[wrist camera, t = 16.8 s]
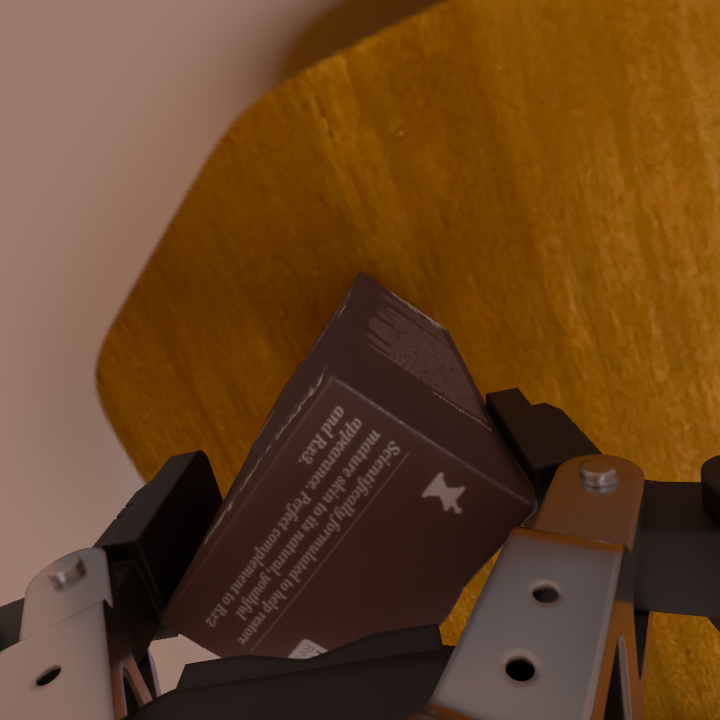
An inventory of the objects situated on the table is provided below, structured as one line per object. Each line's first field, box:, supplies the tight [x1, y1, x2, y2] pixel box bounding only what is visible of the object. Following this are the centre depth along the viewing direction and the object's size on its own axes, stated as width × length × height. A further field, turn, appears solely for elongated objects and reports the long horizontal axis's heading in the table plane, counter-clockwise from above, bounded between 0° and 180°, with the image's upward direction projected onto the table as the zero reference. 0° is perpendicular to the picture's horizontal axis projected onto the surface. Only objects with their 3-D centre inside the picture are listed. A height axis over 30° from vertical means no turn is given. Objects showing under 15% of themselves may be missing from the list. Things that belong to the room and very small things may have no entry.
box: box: [161, 272, 538, 659], centre depth 14 cm, size 6×4×12 cm
